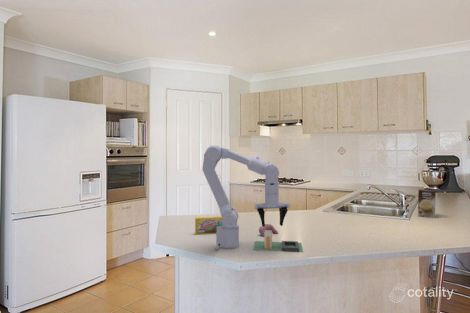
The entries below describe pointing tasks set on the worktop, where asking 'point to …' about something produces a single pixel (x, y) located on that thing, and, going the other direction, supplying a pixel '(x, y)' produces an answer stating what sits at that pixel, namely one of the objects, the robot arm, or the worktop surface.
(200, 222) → the candy box
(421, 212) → the coffee box
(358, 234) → the worktop surface
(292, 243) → the frame
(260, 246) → the circuit board
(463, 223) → the worktop surface
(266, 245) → the plug
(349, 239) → the worktop surface
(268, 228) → the pink toy figure
